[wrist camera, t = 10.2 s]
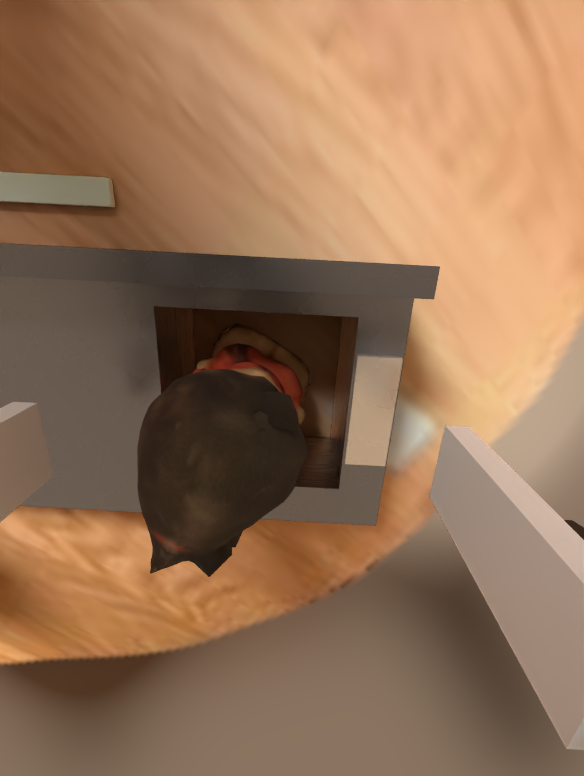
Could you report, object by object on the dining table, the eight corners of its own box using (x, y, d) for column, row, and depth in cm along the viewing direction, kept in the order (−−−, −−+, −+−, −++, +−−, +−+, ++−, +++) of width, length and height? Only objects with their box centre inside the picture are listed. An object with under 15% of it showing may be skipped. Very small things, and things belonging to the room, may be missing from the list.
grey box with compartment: (-56, 445, 22) (-209, 525, 15) (-127, 236, 18) (-381, 222, 11) (359, 468, 22) (385, 558, 15) (387, 263, 17) (439, 266, 11)
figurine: (311, 421, 21) (328, 615, 9) (217, 425, 21) (125, 619, 10) (307, 314, 18) (325, 400, 7) (203, 319, 19) (61, 411, 7)
